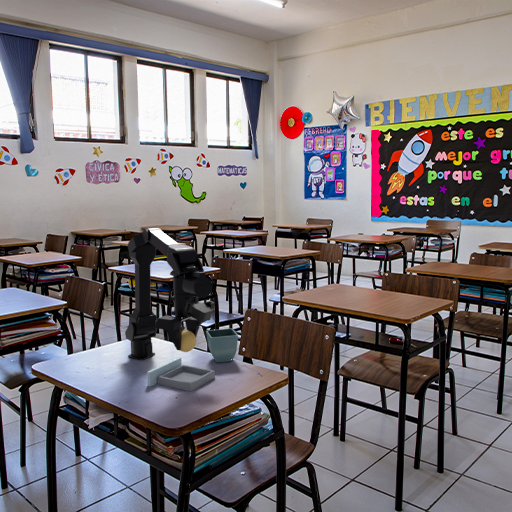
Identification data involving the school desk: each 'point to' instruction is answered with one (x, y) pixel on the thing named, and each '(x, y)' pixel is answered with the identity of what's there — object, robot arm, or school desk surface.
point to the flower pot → (222, 344)
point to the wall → (162, 370)
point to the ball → (187, 341)
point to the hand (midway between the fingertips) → (185, 347)
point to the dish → (186, 377)
